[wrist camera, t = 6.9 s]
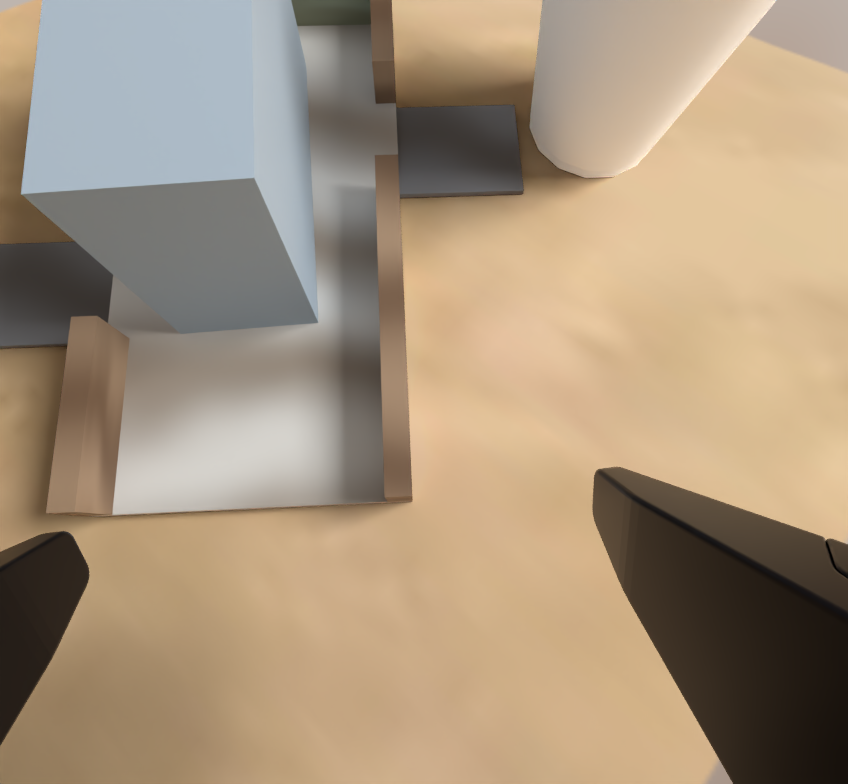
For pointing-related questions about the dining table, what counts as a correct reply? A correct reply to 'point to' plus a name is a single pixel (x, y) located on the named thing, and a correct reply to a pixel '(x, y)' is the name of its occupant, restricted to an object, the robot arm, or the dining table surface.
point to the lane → (266, 346)
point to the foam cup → (625, 74)
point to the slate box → (180, 154)
